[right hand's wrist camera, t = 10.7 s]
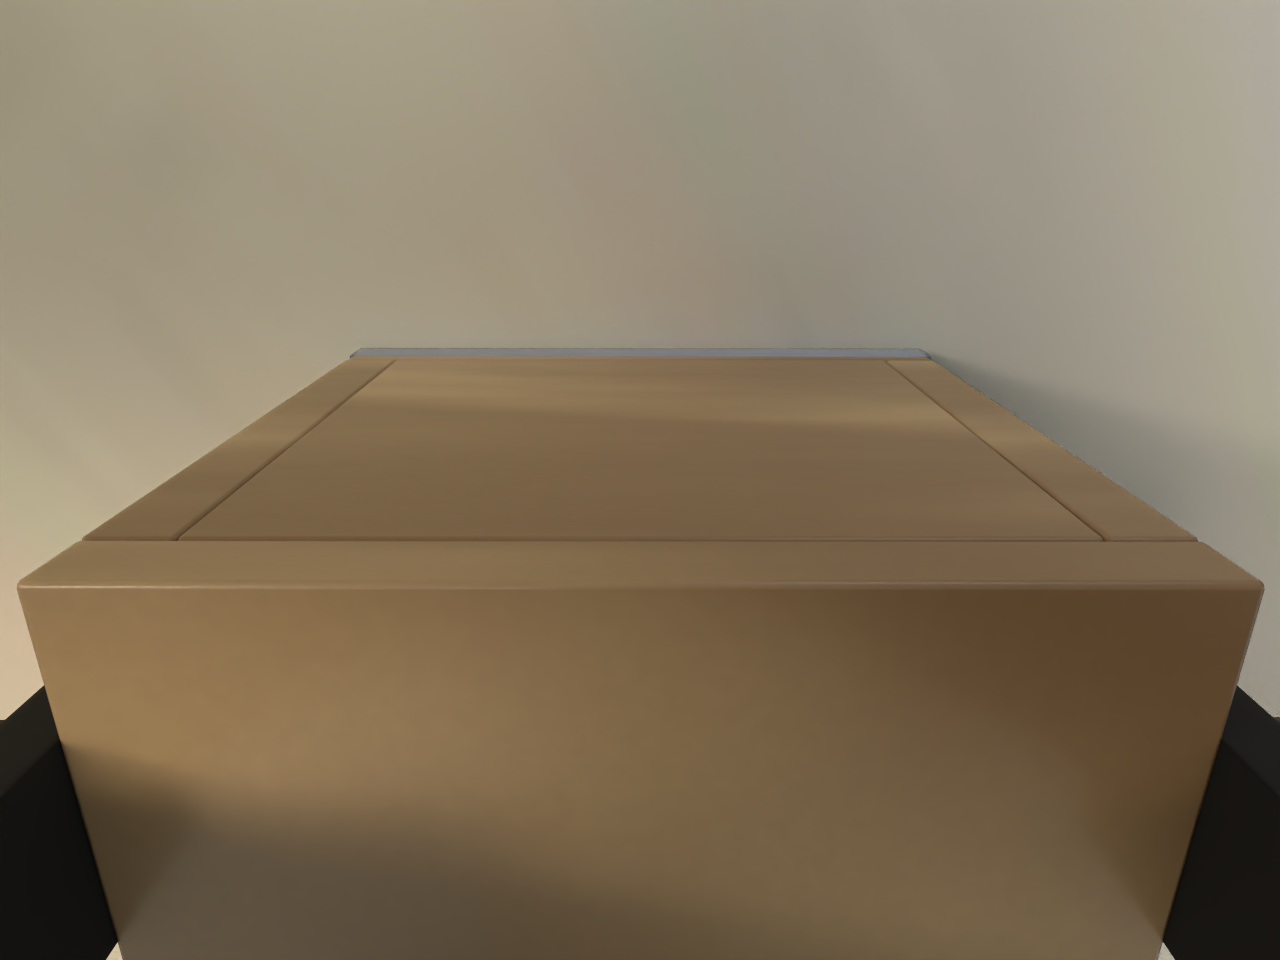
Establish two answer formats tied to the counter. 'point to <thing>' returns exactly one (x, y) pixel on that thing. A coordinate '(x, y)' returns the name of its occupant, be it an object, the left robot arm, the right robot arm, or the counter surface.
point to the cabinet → (640, 672)
